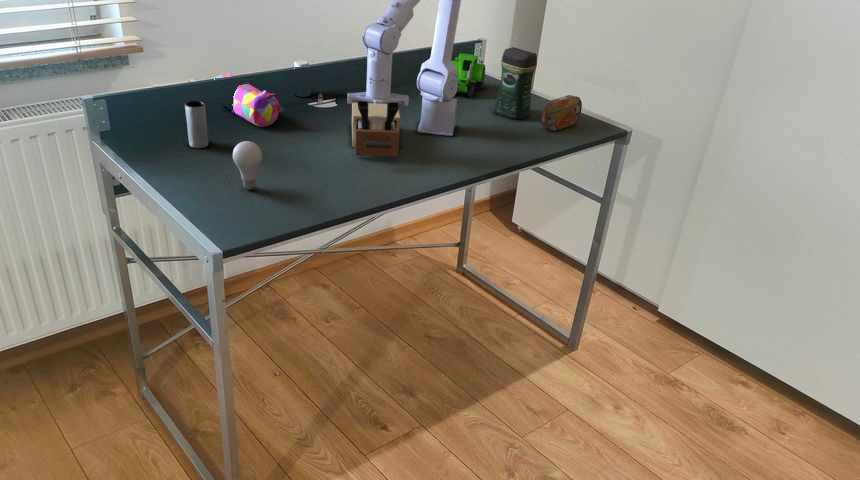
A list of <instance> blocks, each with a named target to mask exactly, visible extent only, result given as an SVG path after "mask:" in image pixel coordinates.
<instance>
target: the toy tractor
mask: <svg viewBox="0 0 860 480" xmlns="http://www.w3.org/2000/svg"><path fill="white" fill-rule="evenodd" d="M454 58H455V60H452V59H451V62H452V64H453V65H454V66H455V68H456V69H457V70H458V76H457V80H458V89H457V92H458V91H460V92H465V93H466V92H467V97H471V98H473V97H474V93H475V90H483V87H484V83H485V77H486V75H485V74H486V64H484V60H480V63H478V60H479V55H477V54H476V55H475V54H467V53H459V54H458V57H454Z"/></svg>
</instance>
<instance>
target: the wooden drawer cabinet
mask: <svg viewBox="0 0 860 480" xmlns="http://www.w3.org/2000/svg"><path fill="white" fill-rule="evenodd" d="M370 116H383V117H385V118H386V119H387V104H374V103H368V117H370ZM358 119H362V116H361V114H360V112H359V109H358V103H352V104H351V145H352V148H356V129H357V126H358ZM393 120H394V121H395V127H396V131H399V132H400V127H401V125H400V124H401V116H400V109H399V108H398V112H397V113H396V115H395V117H394V119H393Z"/></svg>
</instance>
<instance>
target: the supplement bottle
mask: <svg viewBox="0 0 860 480" xmlns="http://www.w3.org/2000/svg"><path fill="white" fill-rule="evenodd" d="M309 63H310V62H309V61H308V60H304V59H297V60H295V61H294V65H293V66H294V68H295V67H301V66H307V65H309V66H310V64H309Z"/></svg>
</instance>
